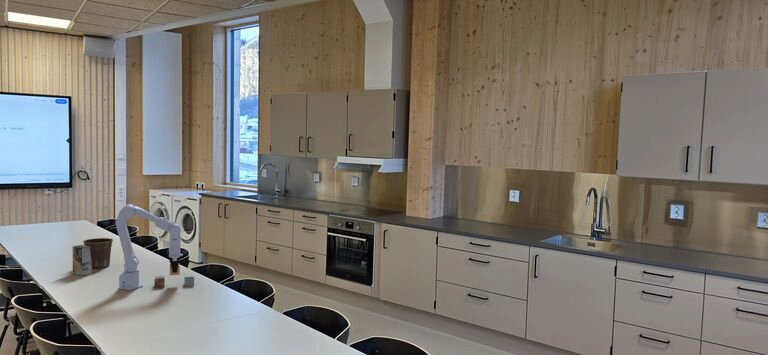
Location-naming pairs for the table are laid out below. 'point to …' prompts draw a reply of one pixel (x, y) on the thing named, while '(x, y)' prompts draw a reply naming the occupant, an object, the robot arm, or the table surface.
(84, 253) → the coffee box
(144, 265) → the table surface
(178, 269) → the orange block
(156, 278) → the walnut block
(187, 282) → the slate block
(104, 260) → the plant pot
